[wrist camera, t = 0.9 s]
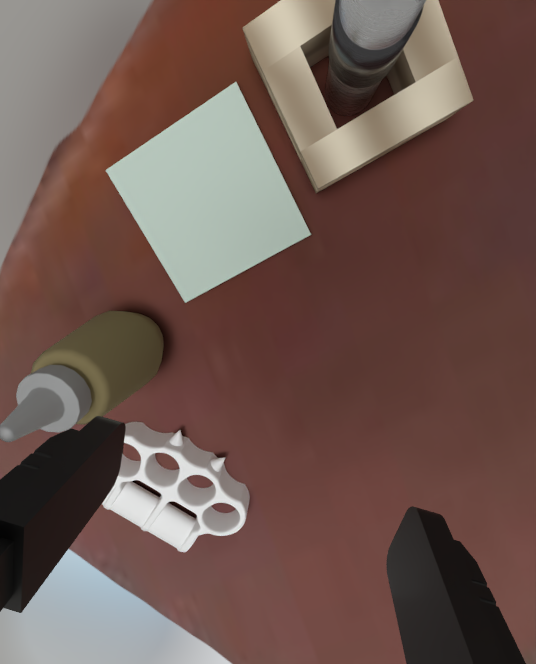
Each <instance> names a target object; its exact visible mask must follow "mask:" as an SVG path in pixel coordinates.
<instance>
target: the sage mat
mask: <svg viewBox="0 0 536 664" xmlns="http://www.w3.org/2000/svg"><path fill="white" fill-rule="evenodd" d="M106 172H107V173H108V175H109V177H110V178H111V180H112V182H113V183H114V185H115V187H116V188H117V190H118V192H119V193H120V195H121V197H122V198H123V200H124V202H125V203H126V205H127V207H128V208H129V210H130V212H131V213H132V215H133V217H134V218H135V220H136V222H137V223H138V225H139V227H140V228H141V230H142V232H143V233H144V235H145V237H146V238H147V240H148V242H149V243H150V245H151V247H152V248H153V250H154V252H155V253H156V255H157V257H158V258H159V260H160V262H161V263H162V265H163V267H164V268H165V270H166V272H167V273H168V275H169V277H170V278H171V280H172V282H173V283H174V285H175V287H176V288H177V290H178V292H179V293H180V295H181V297H182V298H183V300H184V302H185V303H186V302H188V301H190V300H191V299H193V298H195V297H197V296H199V295H201V294H203V293H204V292H206V291H208V290H210V289H212V288H214V287H215V286H217V285H219V284H221V283H223V282H225V281H227V280H228V279H230V278H232V277H234V276H236V275H238V274H239V273H241V272H243V271H245V270H247V269H249V268H251V267H252V266H254V265H256V264H258V263H260V262H262V261H263V260H265V259H267V258H269V257H271V256H273V255H274V254H276V253H278V252H280V251H282V250H284V249H286V248H287V247H289V246H291V245H293V244H295V243H297V242H298V241H300V240H302V239H304V238H306V237H308V236H310V235H311V233H310V231H309V229H308V227H307V225H306V223H305V221H304V219H303V217H302V215H301V213H300V211H299V209H298V207H297V205H296V203H295V201H294V199H293V197H292V195H291V193H290V191H289V189H288V187H287V184H286V182H285V180H284V178H283V176H282V174H281V172H280V170H279V168H278V166H277V164H276V162H275V160H274V158H273V156H272V154H271V152H270V150H269V148H268V146H267V144H266V142H265V140H264V138H263V136H262V134H261V131H260V129H259V127H258V125H257V123H256V121H255V119H254V117H253V115H252V113H251V111H250V109H249V107H248V105H247V103H246V101H245V99H244V97H243V95H242V93H241V91H240V89H239V87H238V85H237V83H236V82H235V83H233V84H232V85H231V86H229V87H228V88H226V89H225V90H223V91H222V92H220V93H219V94H217V95H216V96H214V97H213V98H211V99H210V100H208V101H207V102H205V103H204V104H203V105H201V106H200V107H198V108H197V109H195V110H194V111H192V112H191V113H189V114H188V115H186V116H185V117H183V118H182V119H180V120H179V121H177V122H176V123H175V124H173V125H172V126H170V127H169V128H167V129H166V130H164V131H163V132H161V133H160V134H158V135H157V136H155V137H154V138H152V139H151V140H149V141H148V142H147V143H145V144H144V145H142V146H141V147H139V148H138V149H136V150H135V151H133V152H132V153H130V154H129V155H127V156H126V157H124V158H123V159H121V160H120V161H119V162H117V163H116V164H114V165H113V166H111V167H110V168H108V169H107V170H106Z"/></svg>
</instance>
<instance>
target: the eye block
mask: <svg viewBox="0 0 536 664" xmlns="http://www.w3.org/2000/svg"><path fill="white" fill-rule="evenodd" d="M334 7H335V0H281V1H279V2H278V3H277V4H275V5H274V6H272V7H271V8H270V9H268V10H267V11H265V12H264V13H263V14H261V15H260V16H258V17H257V18H256V19H254V20H253V21H251V22H250V23H249V24H247V25H246V26H244V27H243V31H244V35H245V38H246V41H247V44H248V47H249V50H250V53H251V57H252V59H253V61H254V64H255V66H256V68H257V70H258V72H259V74H260V76H261V78H262V80H263V83H264V85H265V87H266V89H267V91H268V93H269V95H270V97H271V99H272V101H273V104H274V106H275V108H276V110H277V112H278V114H279V116H280V118H281V120H282V123H283V125H284V127H285V129H286V131H287V133H288V135H289V137H290V139H291V142H292V144H293V146H294V148H295V150H296V152H297V154H298V156H299V158H300V161H301V163H302V165H303V167H304V169H305V171H306V173H307V175H308V177H309V180H310V182H311V184H312V186H313V188H314V190H315V192H316V193H318V192H319V191H321V190H323V189H325V188H326V187H328V186H330V185H332V184H333V183H335V182H337V181H339V180H340V179H342V178H344V177H346V176H348V175H349V174H351V173H353V172H355V171H356V170H358V169H360V168H362V167H363V166H365V165H367V164H369V163H370V162H372V161H374V160H376V159H377V158H379V157H381V156H383V155H385V154H386V153H388V152H390V151H392V150H393V149H395V148H397V147H399V146H400V145H402V144H404V143H406V142H407V141H409V140H411V139H413V138H414V137H416V136H418V135H420V134H421V133H423V132H425V131H427V130H429V129H430V128H432V127H434V126H436V125H437V124H439V123H441V122H443V121H444V120H446V119H448V118H449V117H450V116H452V115H453V114H455V113H456V112H458V111H459V110H460V109H462V108H463V107H465V106H466V105H467V104H469V103H470V102H472V101H473V98H472V95H471V92H470V89H469V86H468V83H467V81H466V78H465V75H464V72H463V69H462V66H461V63H460V61H459V58H458V55H457V52H456V49H455V46H454V44H453V41H452V38H451V35H450V32H449V29H448V27H447V24H446V21H445V18H444V15H443V12H442V10H441V7H440V4H439V1H438V0H426V2H425V3H424V6H423V11H422V14H421V17H420V19H419V22H418V24H417V26H416V28H415V29H414V31H413V33H412V35H411V36H410V38H409V40H408V41H407V43H406V45H405V47H404V48H403V50H402V52H401V53H400V55H399V57H398V59H397V60H396V62H395V64H394V65H393V67H392V69H391V70H390V72H389V73H388V74H387V78H388V80H389V83H390V85H391V88H392V90H393V93H394V96H392V97H390V98H389V99H387V100H385V101H384V102H382V103H380V104H379V105H377V106H375V107H374V108H372V109H370V110H369V111H367V112H365V113H364V114H362V115H360V116H359V117H357V118H355V119H354V120H352V121H350V122H349V123H347V124H345V125H344V126H342V127H340V128H339V129H337V128H336V126H335V124H334V121H333V119H332V117H331V115H330V112H329V110H328V108H327V106H326V103H325V101H324V99H323V96H322V94H321V92H320V90H319V87H318V85H317V83H316V81H315V78H314V76H313V74H312V72H311V69H310V67H311V66H313V65H314V64H316V63H318V62H319V61H321V60H322V59H324V58H325V57H327V56H328V55H329V41H330V34H331V27H332V21H333V14H334Z"/></svg>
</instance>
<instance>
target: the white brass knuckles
mask: <svg viewBox="0 0 536 664" xmlns="http://www.w3.org/2000/svg"><path fill="white" fill-rule="evenodd" d="M125 426H126V431H125V438H124V443H127V444H130V445H132V446H133V447H135V448H136V449H137V450H138V452H139V454H140V456H141V461H133V460H130V459H128V458H127V457H125V456H124V455H123V453H122V459H121V466H120V471H119V475H118V477H117V480H116V482H115V485H114V486H113V488H112V490H111V491H110V493H109V494H108V495H107V497H106V499H105V500H104V502H103V504H102V505H104V508H106V509H107V510H109V509H110V510H112V511H114V512H116V513H117V514H119V515H121V516H122V517H124V518H126V519H128V520H129V521H131V522H133V523H134V524H136V525H138V526H140V527H141V529H142V530H144V531H148V532H150V533H152V534H153V535H155V536H157V537H158V538H160V539H162V540H164V541H165V542H167V543H169V544H171V545H172V546H174V547H176V548H177V550H178V551H180V552H187V551H188V550H189V548H190V547H191V546H192V544H193V543H194V541H195V540H196V538H197V537H198V535H202V534H206V533H209V534H213V535H217V536H226V535H230V534H233V533H235V532H237V531H238V530H239V529H241V527H242V526H243V525H244V523H245V520H246V516H247V510H248V505H249V500H250V495H249V491H248V489H247V487H246V485H245V484H242V483H240V482H238V481H236V480H234V479H233V478H232V477H231V476H230V475H229V474H228V473H227V471H226V469H225V465H224V460H225V458H226V457H224V458H218V457H217V456H216V455H215V454H214V453H212V452H207V451H204V450H201V449H199V448H198V447H196V446H195V445H194V444H193V443H192V442H191V441H190V439H189V438H187V437H185V436H182V434H181V430H179V431H178V432H177V433H173V432H171V433H160V432H156V431H154V430H152V429H150V428H148V427H147V426H146V425H145V424H144V423H142V422H130V423H127V424H125ZM155 453H166V454H169V455H171V456H172V457H173V458H175V460H176V461H177V462H178V464H179V468H180V469H177V470H168V469H165V468H163V467H162V466H161V465H159V463H158V462H157V460H156V457H155ZM191 475H202V476H205V477H207V478H209V479H210V480H211V481H212V482H213V483H214V484H213V485H212V486H210V487H208V488H198V487H195V486H193V485H192V484H191V483H190V482H189V481H188V479H187V477H189V476H191ZM134 480H139V481H141V482H143V483H144V484H146V485H148V486H150V487H151V488H153V489H155V490H156V491H158V492H159V493H160V494H161V496H160V498H159V497H158V496H156V495H154V494H153V493H151V492H149V491H148V490H146V489H144V488H142V487H141V486H139V485H137V484H136V483H134V482H132V481H134ZM171 501H174V502H177V503H178V504H180V505H182V506H183V507H185V508H187V509H189V510H190V511H192V512H194V513H195V514H196V515H197V516H196V518H194V517H192V516H190V515H188V514H187V513H185V512H183V511H182V510H180V509H178V508H177V507H175V506H173V505H171V504H170V503H168V502H171ZM215 503H227V504H230V505H232V506H233V507H235V508H236V510H235V511H233V512H231V513H220V512H218V511H216V510H214V509H213V508H212V507H211V505H213V504H215Z"/></svg>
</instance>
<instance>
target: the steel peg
mask: <svg viewBox="0 0 536 664" xmlns="http://www.w3.org/2000/svg"><path fill="white" fill-rule="evenodd" d="M425 2H426V0H335V7H334V14H333V21H332V27H331V34H330V41H329V67H328V73H327V79H326V85H325V96H326V100H327V103H328V105H329V106H330V108H331V109H332V110H333V111H334V112H336V113H337V114H339V115H343V116H352V115H355V114H357V113H359V112H361V111H362V110H363V109H364V108H365V107H366V106H367V105H368V103H369V102H370V100H371V98H372V97H373V95H374V93H375V91H376V89H377V88H378V86H379V84H380V82H381V80H382V79H383V78H384V77H385V76H386V75H387V74H388V73H389V72H390V70H391V69H392V67H393V65H394V64H395V62H396V60H397V59H398V57H399V55H400V53H401V52H402V50H403V48H404V47H405V45H406V43H407V41H408V40H409V38H410V36H411V35H412V33H413V31H414V29H415V28H416V26H417V24H418V22H419V19H420V17H421V14H422V11H423V6H424V3H425Z"/></svg>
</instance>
